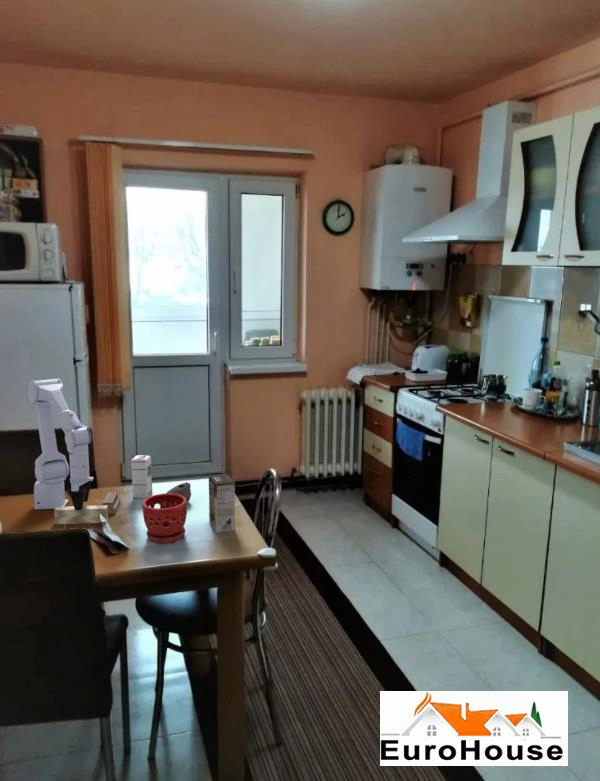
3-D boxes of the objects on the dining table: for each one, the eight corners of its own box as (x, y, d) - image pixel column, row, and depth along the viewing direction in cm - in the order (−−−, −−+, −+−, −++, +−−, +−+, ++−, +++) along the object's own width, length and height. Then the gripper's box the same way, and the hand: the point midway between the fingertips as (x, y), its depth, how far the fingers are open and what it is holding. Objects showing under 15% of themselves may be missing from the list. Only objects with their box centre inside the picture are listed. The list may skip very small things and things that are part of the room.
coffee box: (208, 522, 199) (207, 475, 196) (227, 520, 201) (227, 473, 199) (215, 533, 191) (214, 483, 188) (235, 530, 193) (235, 481, 190)
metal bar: (55, 525, 196) (54, 510, 195) (57, 521, 199) (56, 506, 198) (106, 523, 198) (106, 508, 197) (108, 519, 201) (107, 505, 200)
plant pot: (142, 531, 192) (141, 494, 190) (185, 527, 195) (184, 491, 193) (144, 548, 179) (142, 509, 177) (189, 543, 183) (188, 505, 181)
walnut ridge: (100, 514, 205) (99, 502, 204) (105, 503, 215) (105, 492, 214) (115, 513, 206) (115, 502, 205) (120, 503, 215) (120, 492, 215)
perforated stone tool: (166, 514, 206) (166, 494, 205) (155, 511, 209) (154, 491, 208) (195, 501, 219) (195, 482, 218) (184, 498, 221) (184, 480, 220)
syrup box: (148, 498, 221) (147, 459, 219) (132, 497, 221) (130, 459, 219) (152, 492, 227) (151, 455, 224) (136, 492, 227) (135, 454, 224)
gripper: (87, 471, 189) (89, 513, 191) (97, 458, 203) (98, 497, 205) (63, 471, 188) (65, 514, 190) (75, 458, 202) (77, 498, 204)
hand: (81, 505), depth 198 cm, fingers open, 7 cm apart
